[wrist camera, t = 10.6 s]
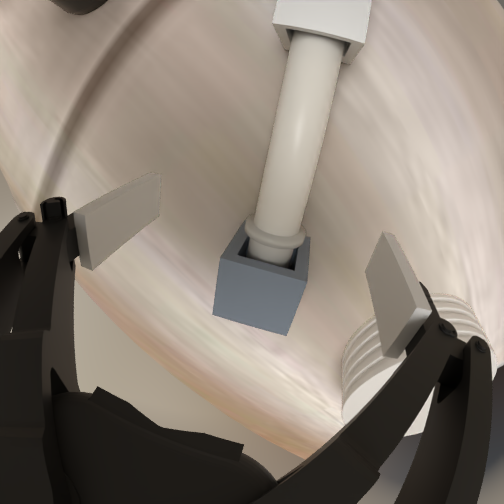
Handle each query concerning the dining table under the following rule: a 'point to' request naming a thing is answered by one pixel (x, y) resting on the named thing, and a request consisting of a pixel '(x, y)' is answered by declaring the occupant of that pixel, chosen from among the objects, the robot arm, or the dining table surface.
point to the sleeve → (324, 21)
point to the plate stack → (381, 368)
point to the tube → (294, 147)
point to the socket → (259, 286)
